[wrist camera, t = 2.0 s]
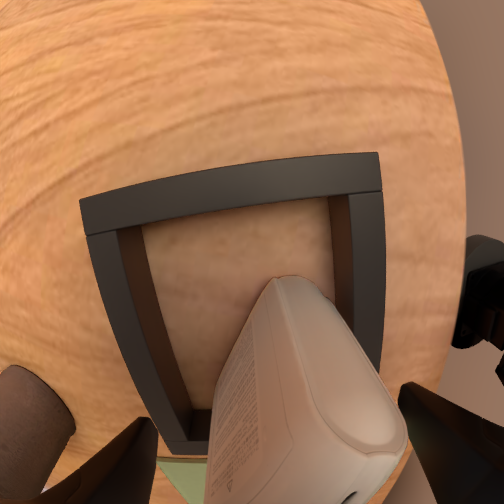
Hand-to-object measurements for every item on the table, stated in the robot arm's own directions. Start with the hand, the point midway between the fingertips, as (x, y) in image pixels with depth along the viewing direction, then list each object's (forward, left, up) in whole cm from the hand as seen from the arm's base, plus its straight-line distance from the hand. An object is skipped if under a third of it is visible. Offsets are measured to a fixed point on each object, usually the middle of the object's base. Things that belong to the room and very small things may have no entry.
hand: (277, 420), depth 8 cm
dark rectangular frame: (+1, +1, -8) cm, 8 cm away
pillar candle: (+24, +9, -9) cm, 27 cm away
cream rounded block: (0, +2, -8) cm, 9 cm away
